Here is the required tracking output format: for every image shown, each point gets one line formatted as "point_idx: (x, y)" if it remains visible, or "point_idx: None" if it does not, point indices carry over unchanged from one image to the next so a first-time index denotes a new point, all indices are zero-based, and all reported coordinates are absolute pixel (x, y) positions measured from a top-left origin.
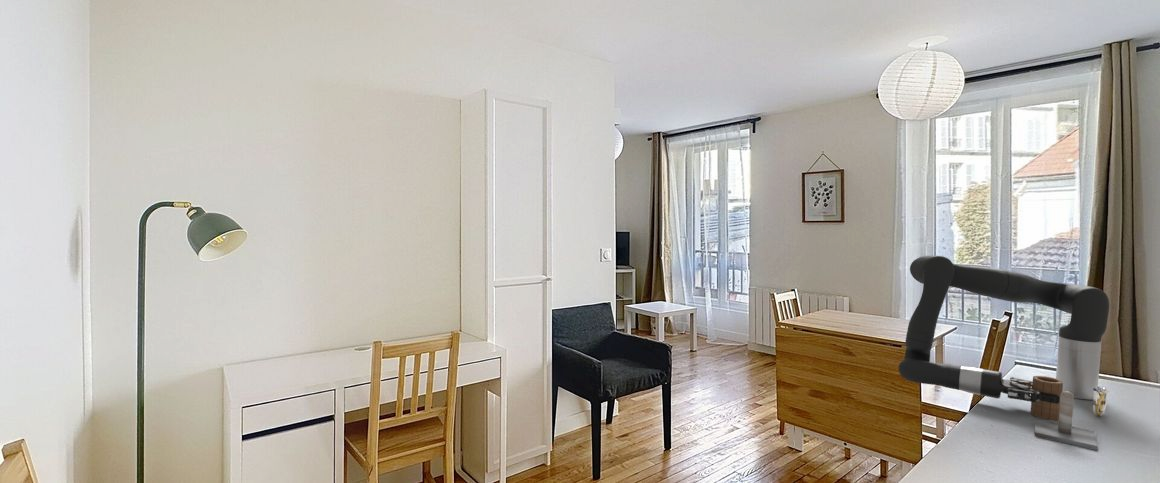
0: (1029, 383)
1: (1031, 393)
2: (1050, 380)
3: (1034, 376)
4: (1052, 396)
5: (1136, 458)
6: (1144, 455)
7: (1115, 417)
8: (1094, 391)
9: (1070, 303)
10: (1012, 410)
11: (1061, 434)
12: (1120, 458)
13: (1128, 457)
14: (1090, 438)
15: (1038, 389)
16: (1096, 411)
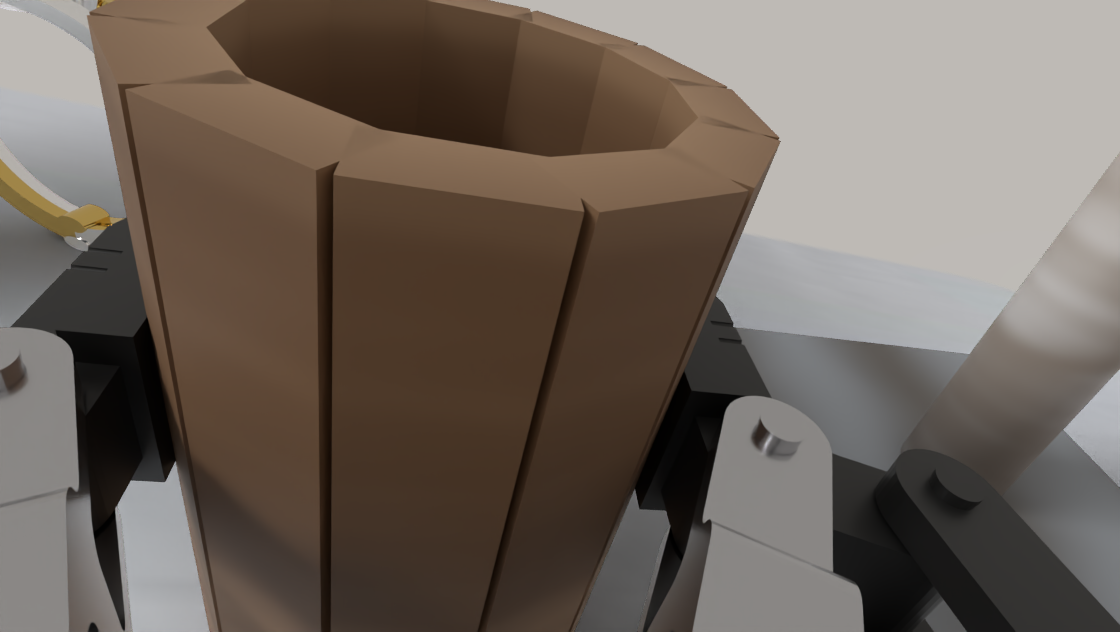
0: (77, 526)
1: (1020, 545)
2: (252, 69)
3: (333, 151)
4: (711, 311)
5: (874, 280)
6: (790, 251)
7: (86, 188)
8: (70, 14)
9: None
10: None
11: (1051, 497)
12: (960, 324)
13: (901, 298)
14: (893, 362)
15: (671, 392)
16: None
